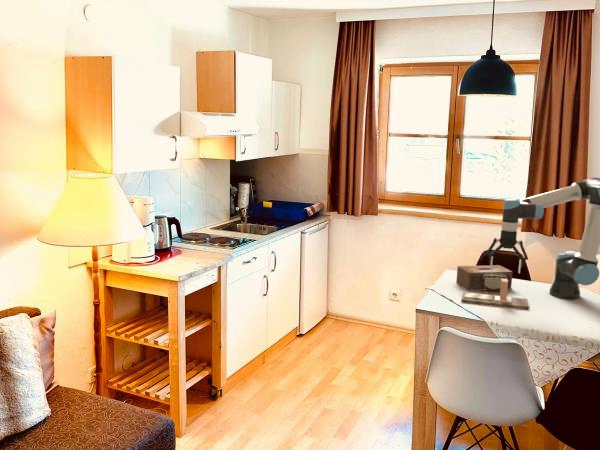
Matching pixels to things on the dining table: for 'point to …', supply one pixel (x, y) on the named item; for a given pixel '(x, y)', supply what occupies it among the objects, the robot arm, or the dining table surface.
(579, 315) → the dining table surface
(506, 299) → the stub
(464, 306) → the dining table surface
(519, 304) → the ticket board
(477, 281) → the tissue box cover
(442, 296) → the dining table surface
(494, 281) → the food container
